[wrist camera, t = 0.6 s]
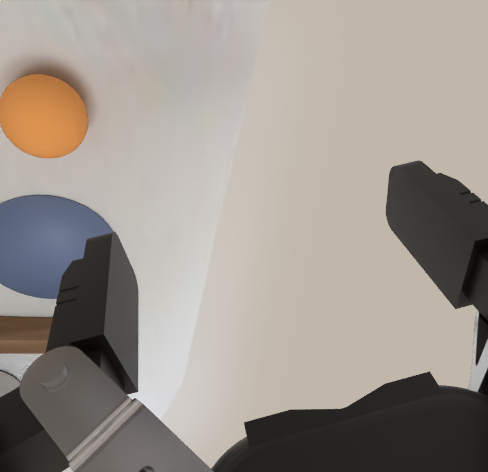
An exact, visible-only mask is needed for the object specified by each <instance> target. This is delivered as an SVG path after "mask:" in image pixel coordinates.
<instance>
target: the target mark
mask: <svg viewBox="0 0 488 472" xmlns="http://www.w3.org/2000/svg"><path fill="white" fill-rule="evenodd" d="M109 233H113V231H112V229H111V228H110V226H109V225H108V224H107V222H106V221H105V220H104V219H103V218H102V217H101V216H99V215H98V214H97V213H95V212H94V211H93V210H91V209H89V208H88V207H86V206H84V205H82V204H80V203H77V202H75V201H72V200H69V199H65V198H61V197H56V196H48V195H33V196H24V197H19V198H15V199H12V200H9V201H6V202H4V203H2V204H0V283H1V284H3V285H4V286H6V287H8V288H10V289H12V290H14V291H17V292H19V293H22V294H25V295H29V296H33V297H39V298H49V299H57V296H58V294H59V287H60V283H61V278H62V275H63V274H64V272H65V271H66V269H67V268H68V266H69V265H70V264H71V262H72V261H74V260H78V259H82V258H83V257H84V251H85V245H86V240H87V239H88V238H92V237H96V236H100V235H105V234H109Z"/></svg>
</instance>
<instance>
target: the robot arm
mask: <svg viewBox="0 0 488 472" xmlns="http://www.w3.org/2000/svg"><path fill="white" fill-rule="evenodd" d="M386 216H387V220H388V224H389V226H390V228H391V230H392V231H393V232H394V233H395V235H396V236H397V237H398V238H399V239H400V241H401V242H402V243H403V245H404V246H405V247H406V248H407V249H408V251H409V252H410V253H411V254H412V256H413V257H414V258H415V259H416V261H417V262H418V263H419V264H420V266H421V267H422V268H423V269H424V271H425V272H426V273H427V274H428V275H429V277H430V278H431V279H432V280H433V282H434V283H435V284H436V285H437V287H438V288H439V289H440V290H441V292H442V293H443V294H444V295H445V296H446V298H447V299H448V300H449V302H450V303H451V304H452V305H453V307H454V308H455V309H457V308H461V307H465V306H468V305H472V304H473V305H474V306H475V307H476V309H477V313H476V317H475V325H474V339H473V352H472V365H471V376H470V382H469V387H468V389H464V388H459V387H453V386H442V385H441V386H439V385H438V384H437V382H436V381H435V379H434V378H433V376H432V375H431V373H430V372H427V373H423V374H419V375H416V376H412V377H408V378H405V379H401V380H397V381H394V382H390V383H386V384H384V385H382V386H381V387H379V388H377V389H376V390H374V391H372V392H371V393H369V394H368V395H366V396H364V397H363V398H361V399H359V400H358V401H356V402H354V403H353V404H351V405H350V406H348V407H346V408H343V409H310V410H288V411H285V412H281V413H277V414H273V415H270V416H266V417H262V418H259V419H255V420H252V421H248V422H244V425H245V429H246V434H247V437H245V438H244V439H242V440H240V441H239V442H237V443H236V444H235V445H233V446H232V447H231V448H230V449H228V450H227V451H226V452H225V453H224V454H223V455H222V456H221V457H220V458H219V460H218V461H217V462H216V463H215V465H214V466H213V467H212V469H211V468H209V467H208V466H207V465H206V464H205V463H204V462H203V461H202V460H201V459H200V458H199V457H198V456H197V455H196V454H195V453H194V452H193V451H192V450H191V449H190V448H189V447H188V446H186V445H185V444H184V443H183V442H182V441H181V440H180V439H179V438H178V437H177V436H176V435H175V434H174V433H173V432H172V431H171V430H170V429H169V428H168V427H166V426H165V425H164V424H163V423H162V422H161V421H160V420H159V419H158V418H157V417H156V416H155V415H154V414H153V413H152V412H151V411H150V410H149V409H148V408H147V407H146V406H145V405H144V404H142V403H141V402H140V401H139V400H137V399H133V400H132V399H131V398H130V397H129V396H128V395H127V394H131V393H135V392H138V285H137V280H136V277H135V273H134V271H133V268H132V266H131V264H130V262H129V260H128V257H127V255H126V253H125V251H124V248H123V246H122V244H121V242H120V239H119V237H118V235H117V234H116V233H115V232H113V233H109V234H105V235H100V236H96V237H92V238H88V239H87V240H86V245H85V251H84V257H83V258H82V259H78V260H74V261H72V262H71V264H70V265H69V266H68V268H67V269H66V271H65V272H64V274H63V275H62V278H61V283H60V287H59V294H58V296H57V301H56V304H57V306H55V310H54V315H53V320H52V324H51V329H50V334H49V338H48V343H47V348H46V352H45V353H44V354H43V355H41V356H40V357H39V358H37V359H36V360H35V361H34V362H33V363H32V364H31V365H30V366H29V367H28V369H27V370H26V372H25V373H24V375H23V377H22V380H21V382H19V381H18V380H17V379H15V378H14V377H13V376H11V375H9V374H7V373H4V372H1V371H0V472H62V471H63V470H65V469H66V468H68V467H70V468H71V469H72V470H73V472H488V205H487V204H486V203H485V202H484V201H483V202H481V199H480V198H479V197H478V196H476V195H475V194H474V193H471V192H470V190H469V189H468V188H467V187H465V186H464V185H463V184H462V183H461V182H459V181H458V180H456V179H453V178H451V177H449V176H446V175H444V174H442V173H438V174H436V173H435V172H433V171H432V170H431V169H430V168H429V167H428V166H427V165H425V164H424V163H423V162H422V161H414V162H410V163H406V164H402V165H398V166H394V167H392V168H391V170H390V174H389V184H388V194H387V204H386Z"/></svg>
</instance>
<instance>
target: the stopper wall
mask: <svg viewBox="0 0 488 472" xmlns="http://www.w3.org/2000/svg"><path fill="white" fill-rule="evenodd" d="M52 320H53V318H44V317H6V316H0V353H45V352H46V348H47V343H48V338H49V334H50V329H51V324H52Z"/></svg>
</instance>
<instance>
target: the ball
mask: <svg viewBox="0 0 488 472" xmlns="http://www.w3.org/2000/svg"><path fill="white" fill-rule="evenodd" d="M0 124H1V127H2V129H3V131H4V133H5V135H6V136H7V138H8V139H9V140H10V141H11V142H12V143H13V144H14V145H15V146H16V147H17V148H19V149H20V150H22V151H23V152H25V153H27V154H30V155H32V156H36V157H40V158H57V157H61V156H64V155H67V154H69V153H71V152H72V151H74V150H75V149H76V148H77V147H78V146H79V145H80V144H81V143H82V141H83V139H84V137H85V135H86V133H87V128H88V115H87V110H86V107H85V105H84V103H83V101H82V99H81V97H80V96H79V95H78V93H77V92H76V91H75V90H74V89H73V88H72V87H71V86H69V85H68V84H67V83H65V82H63V81H62V80H60V79H58V78H55V77H52V76H48V75H42V74H33V75H27V76H24V77H21V78H19V79H17V80H15V81H14V82H12V83H11V84H10V85H9V86H8V87H7V88H6V89H5V91H4V92H3V94H2V96H1V98H0Z"/></svg>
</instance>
